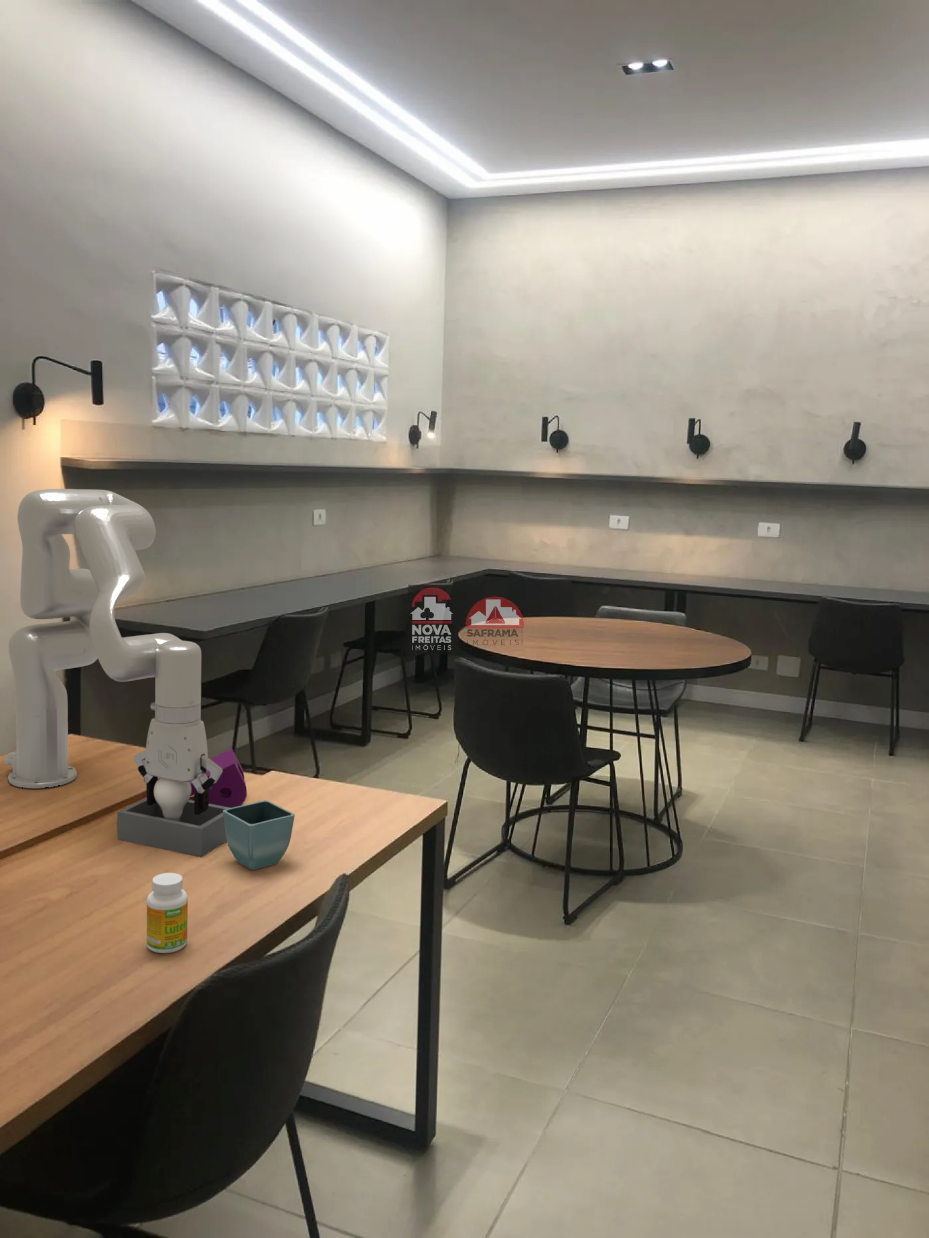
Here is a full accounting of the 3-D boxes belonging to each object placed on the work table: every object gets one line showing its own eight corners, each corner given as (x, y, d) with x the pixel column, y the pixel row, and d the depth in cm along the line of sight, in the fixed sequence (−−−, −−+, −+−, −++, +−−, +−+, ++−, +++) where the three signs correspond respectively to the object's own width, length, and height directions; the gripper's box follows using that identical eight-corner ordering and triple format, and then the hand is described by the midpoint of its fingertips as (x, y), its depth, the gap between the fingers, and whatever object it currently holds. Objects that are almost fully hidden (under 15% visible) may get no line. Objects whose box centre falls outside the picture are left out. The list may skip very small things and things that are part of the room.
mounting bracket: (164, 844, 183) (253, 801, 186) (144, 807, 180) (234, 763, 183) (165, 825, 192) (250, 784, 195) (146, 789, 189) (232, 748, 192)
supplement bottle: (165, 958, 131) (165, 890, 130) (138, 946, 134) (138, 879, 132) (195, 942, 136) (196, 877, 134) (168, 931, 138) (169, 866, 137)
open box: (117, 839, 169) (117, 811, 168) (154, 819, 179) (155, 793, 178) (201, 857, 164) (201, 828, 163) (235, 835, 174) (235, 808, 173)
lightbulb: (198, 834, 172) (198, 774, 170) (165, 843, 167) (165, 781, 165) (178, 823, 176) (179, 765, 174) (146, 832, 171) (146, 772, 169)
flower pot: (265, 848, 169) (266, 798, 168) (294, 864, 163) (296, 813, 161) (220, 860, 163) (221, 809, 161) (249, 878, 157) (250, 825, 155)
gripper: (122, 711, 167) (122, 806, 170) (208, 725, 161) (207, 823, 164) (149, 701, 174) (149, 793, 177) (233, 714, 168) (231, 808, 171)
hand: (177, 807), depth 170 cm, fingers open, 9 cm apart
